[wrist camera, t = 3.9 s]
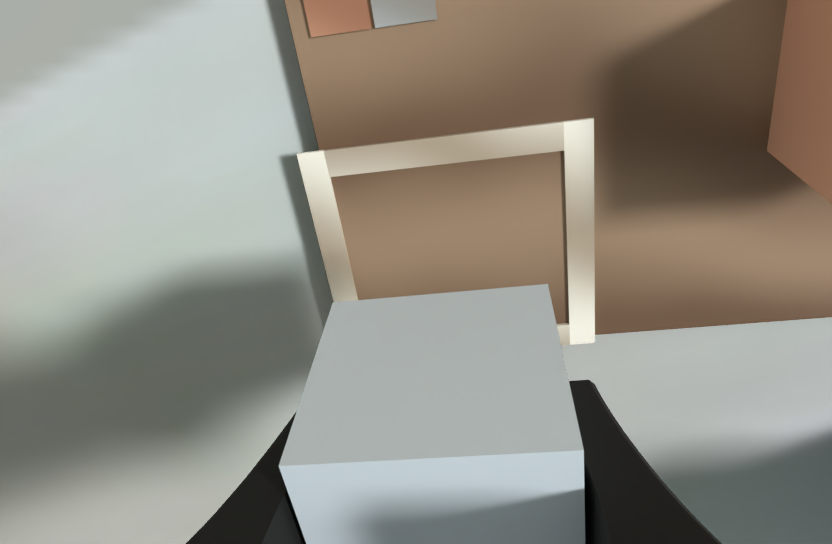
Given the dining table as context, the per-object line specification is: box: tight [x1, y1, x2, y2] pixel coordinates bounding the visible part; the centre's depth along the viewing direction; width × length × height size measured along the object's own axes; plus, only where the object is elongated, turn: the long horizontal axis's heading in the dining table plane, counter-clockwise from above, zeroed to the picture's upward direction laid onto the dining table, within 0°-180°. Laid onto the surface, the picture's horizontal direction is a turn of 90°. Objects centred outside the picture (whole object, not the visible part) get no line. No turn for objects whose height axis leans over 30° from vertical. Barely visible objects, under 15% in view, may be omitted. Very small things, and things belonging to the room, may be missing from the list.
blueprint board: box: [285, 0, 832, 345], centre depth 18 cm, size 13×18×1 cm
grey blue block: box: [279, 284, 585, 544], centre depth 12 cm, size 4×4×4 cm
